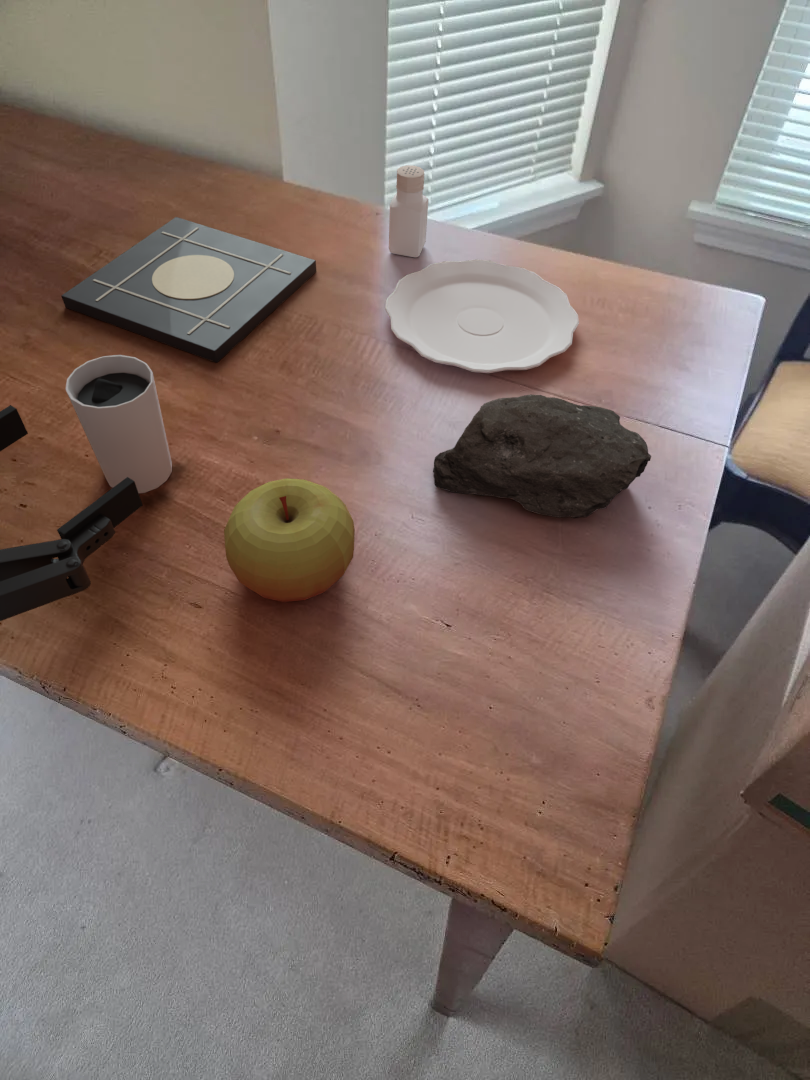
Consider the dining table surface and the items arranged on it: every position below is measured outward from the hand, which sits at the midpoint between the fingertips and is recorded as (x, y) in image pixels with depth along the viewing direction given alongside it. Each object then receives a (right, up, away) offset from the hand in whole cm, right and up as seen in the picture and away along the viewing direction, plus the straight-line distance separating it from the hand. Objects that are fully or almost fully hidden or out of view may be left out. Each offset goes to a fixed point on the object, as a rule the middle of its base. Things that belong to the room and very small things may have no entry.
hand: (75, 453), depth 60 cm
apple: (+17, -9, +1) cm, 20 cm away
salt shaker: (+26, +29, +33) cm, 51 cm away
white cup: (+3, -1, +7) cm, 8 cm away
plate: (+35, +17, +24) cm, 45 cm away
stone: (+38, -2, +8) cm, 39 cm away
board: (+2, +22, +26) cm, 34 cm away
